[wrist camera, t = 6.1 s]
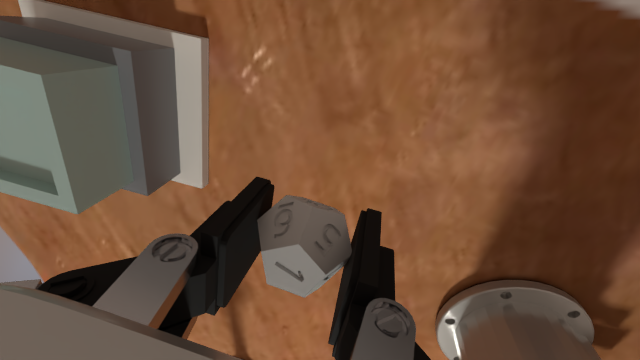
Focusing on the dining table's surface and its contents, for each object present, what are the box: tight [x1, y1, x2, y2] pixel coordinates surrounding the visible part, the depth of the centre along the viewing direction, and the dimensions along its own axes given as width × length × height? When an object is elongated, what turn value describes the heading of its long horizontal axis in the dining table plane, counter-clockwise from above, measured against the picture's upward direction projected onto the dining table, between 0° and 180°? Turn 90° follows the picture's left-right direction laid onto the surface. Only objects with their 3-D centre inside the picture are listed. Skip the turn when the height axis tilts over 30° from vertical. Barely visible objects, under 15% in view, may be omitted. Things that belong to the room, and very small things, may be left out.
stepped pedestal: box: [0, 0, 209, 214], centre depth 20 cm, size 14×12×9 cm
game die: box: [257, 195, 352, 298], centre depth 11 cm, size 4×4×3 cm
